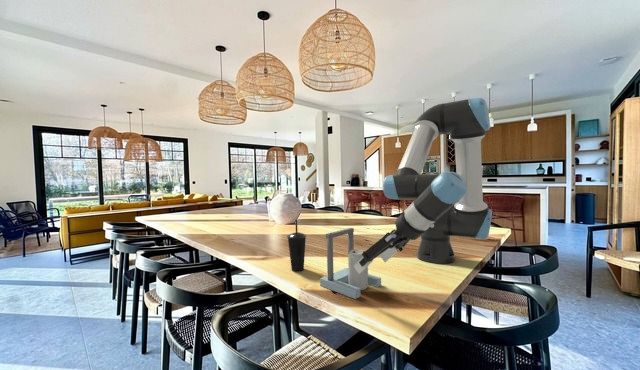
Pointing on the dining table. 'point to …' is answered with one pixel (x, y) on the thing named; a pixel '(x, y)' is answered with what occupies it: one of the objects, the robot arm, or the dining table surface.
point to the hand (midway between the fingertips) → (370, 264)
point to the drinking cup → (297, 250)
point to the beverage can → (353, 275)
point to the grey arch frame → (341, 277)
